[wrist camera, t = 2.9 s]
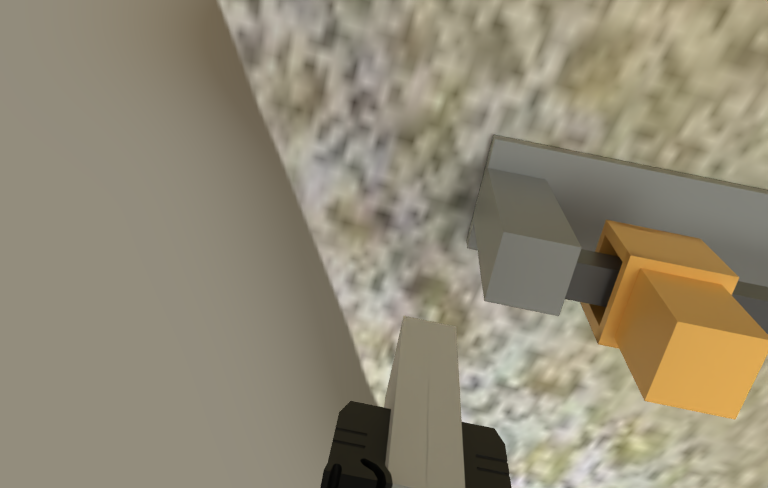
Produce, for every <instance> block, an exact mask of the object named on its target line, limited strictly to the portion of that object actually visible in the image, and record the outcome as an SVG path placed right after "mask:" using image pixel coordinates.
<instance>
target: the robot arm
mask: <svg viewBox="0 0 768 488" xmlns="http://www.w3.org/2000/svg"><path fill="white" fill-rule="evenodd" d="M321 488H511V482H510V477H509V468H508V463H507V455H506V448H505V444H504V442H503V441H502V439H501V438H500V436H499V435H498V433H497V432H496V430H495V429H494V428H489V427H484V426H479V425H474V424H470V423H465V422H461V405H460V387H459V370H458V352H457V334H456V326H451V325H446V324H441V323H436V322H431V321H426V320H422V319H417V318H412V317H407V316H403V321H402V325H401V330H400V334H399V339H398V343H397V348H396V352H395V356H394V361H393V365H392V370H391V374H390V379H389V383H388V388H387V392H386V397H385V405H384V408H383V407H378V406H373V405H368V404H363V403H358V402H353V401H350V402H349V403H348V404H347V405H346V406H345V407H344V408H343V409H342V410H341V411H340V412H339V416H338V421H337V425H336V429H335V434H334V438H333V442H332V447H331V451H330V456H329V460H328V463H327V465H326V467H325V469H324V473H323V478H322V483H321Z"/></svg>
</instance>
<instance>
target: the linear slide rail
mask: <svg viewBox="0 0 768 488" xmlns="http://www.w3.org/2000/svg"><path fill="white" fill-rule="evenodd" d="M606 220H611V221H616V222H621V223H626V224H631V225H636V226H641V227H645V228H650V229H655V230H660V231H665V232H670V233H675V234H680V235H685V236H690V237H695V238H700V239H701V240H702V241H703V242H704V243H705V244H706V245H707V246H708V247H709V248H710V249H711V250H712V251H713V252H714V253H715V254H716V255H717V256H718V257H719V258H720V259H721V260H722V261H723V262H724V263H725V264H726V265H727V266H728V267H729V268H730V269H731V270H732V271H733V272H734V273H735V274H736V275H737V276H738V277H739V280H738V282H737V284H736V286H735V289H734V291H733V293H732V296H733V297H734V298H735V300H736V301H737V302H738V303H739V304H740V305H741V306H742V307H743V308H744V309H745V310H746V311H747V313H748V314H749V315H750V316H751V317H752V318H753V319H754V320H755V321H756V322H757V323H758V325H759V326H760V327H761V328H762V329H763V330H764V331H765V332H766V333H767V334H768V190H764V189H759V188H754V187H750V186H745V185H740V184H735V183H730V182H725V181H720V180H715V179H710V178H705V177H700V176H695V175H690V174H685V173H680V172H675V171H671V170H666V169H661V168H656V167H651V166H646V165H641V164H636V163H631V162H626V161H621V160H616V159H611V158H606V157H601V156H596V155H591V154H587V153H582V152H577V151H572V150H567V149H562V148H557V147H552V146H547V145H542V144H537V143H532V142H527V141H522V140H517V139H512V138H508V137H503V136H498V135H493V139H492V143H491V147H490V151H489V155H488V159H487V163H486V167H485V171H484V175H483V179H482V183H481V186H480V190H479V194H478V198H477V202H476V206H475V210H474V214H473V218H472V222H471V226H470V230H469V233H468V237H467V248H469V249H474V250H478V257H479V264H480V272H481V279H482V287H483V294H484V301H487V302H492V303H497V304H502V305H507V306H511V307H516V308H521V309H526V310H531V311H536V312H541V313H546V314H551V315H556V316H559V314H560V311H561V308H562V305H563V302H564V299H568V300H573V301H578V302H583V303H588V304H593V305H598V306H603V307H607V304H608V301H609V298H610V296H611V293H612V290H613V287H614V285H615V282H616V279H617V276H618V274H619V271H620V268H621V265H622V263H623V262H622V260H621V259H620V257H618V256H613V255H608V254H603V253H598V252H595V250H596V247H597V244H598V242H599V239H600V236H601V233H602V230H603V227H604V224H605V221H606Z"/></svg>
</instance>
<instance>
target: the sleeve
mask: <svg viewBox="0 0 768 488" xmlns="http://www.w3.org/2000/svg"><path fill="white" fill-rule="evenodd" d="M595 252H598V253H603V254H608V255H613V256H618V257H620V259H621V260H622V262H623V263H622V265H621V268H620V271H619V274H618V276H617V279H616V282H615V285H614V287H613V290H612V293H611V296H610V298H609V301H608V304H607V307H603V306H598V305H593V304H588V303H583V302H580V303H581V305H582V308H583V310H584V312H585V315H586V317H587V319H588V322H589V324H590V326H591V329H592V331H593V333H594V336H595V338H596V340H597V343H598V344H600V345H605V346H609V347H614V348H619V349H620V351H621V353H622V355H623V357H624V359H625V361H626V363H627V365H628V367H629V369H630V372H631V374H632V376H633V378H634V380H635V382H636V384H637V386H638V388H639V390H640V392H641V394H642V396H643V398H644V401H648V402H653V403H658V404H662V405H667V406H672V407H677V408H682V409H687V410H692V411H697V412H701V413H706V414H711V415H716V416H721V417H726V418H731V419H736V417H737V415H738V413H739V411H740V409H741V407H742V405H743V403H744V401H745V399H746V397H747V395H748V393H749V391H750V389H751V387H752V385H753V383H754V381H755V379H756V377H757V374H758V372H759V370H760V368H761V366H762V364H763V362H764V360H765V358H766V356H767V354H768V334H767V333H766V332H765V331H764V330H763V329H762V328H761V327H760V326H759V325H758V323H757V322H756V321H755V320H754V319H753V318H752V317H751V316H750V315H749V314H748V313H747V311H746V310H745V309H744V308H743V307H742V306H741V305H740V304H739V303H738V302H737V301H736V300H735V298H734V297H733V296H732V293H733V291H734V289H735V286H736V284H737V282H738V280H739V277H738V276H737V275H736V274H735V273H734V272H733V271H732V270H731V269H730V268H729V267H728V266H727V265H726V264H725V263H724V262H723V261H722V260H721V259H720V258H719V257H718V256H717V255H716V254H715V253H714V252H713V251H712V250H711V249H710V248H709V247H708V246H707V245H706V244H705V243H704V242H703V241H702V240H701V239H700V238H695V237H690V236H685V235H680V234H675V233H670V232H665V231H660V230H655V229H650V228H645V227H641V226H636V225H631V224H626V223H621V222H616V221H611V220H606V221H605V224H604V227H603V230H602V233H601V236H600V239H599V242H598V244H597V247H596V250H595Z"/></svg>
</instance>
